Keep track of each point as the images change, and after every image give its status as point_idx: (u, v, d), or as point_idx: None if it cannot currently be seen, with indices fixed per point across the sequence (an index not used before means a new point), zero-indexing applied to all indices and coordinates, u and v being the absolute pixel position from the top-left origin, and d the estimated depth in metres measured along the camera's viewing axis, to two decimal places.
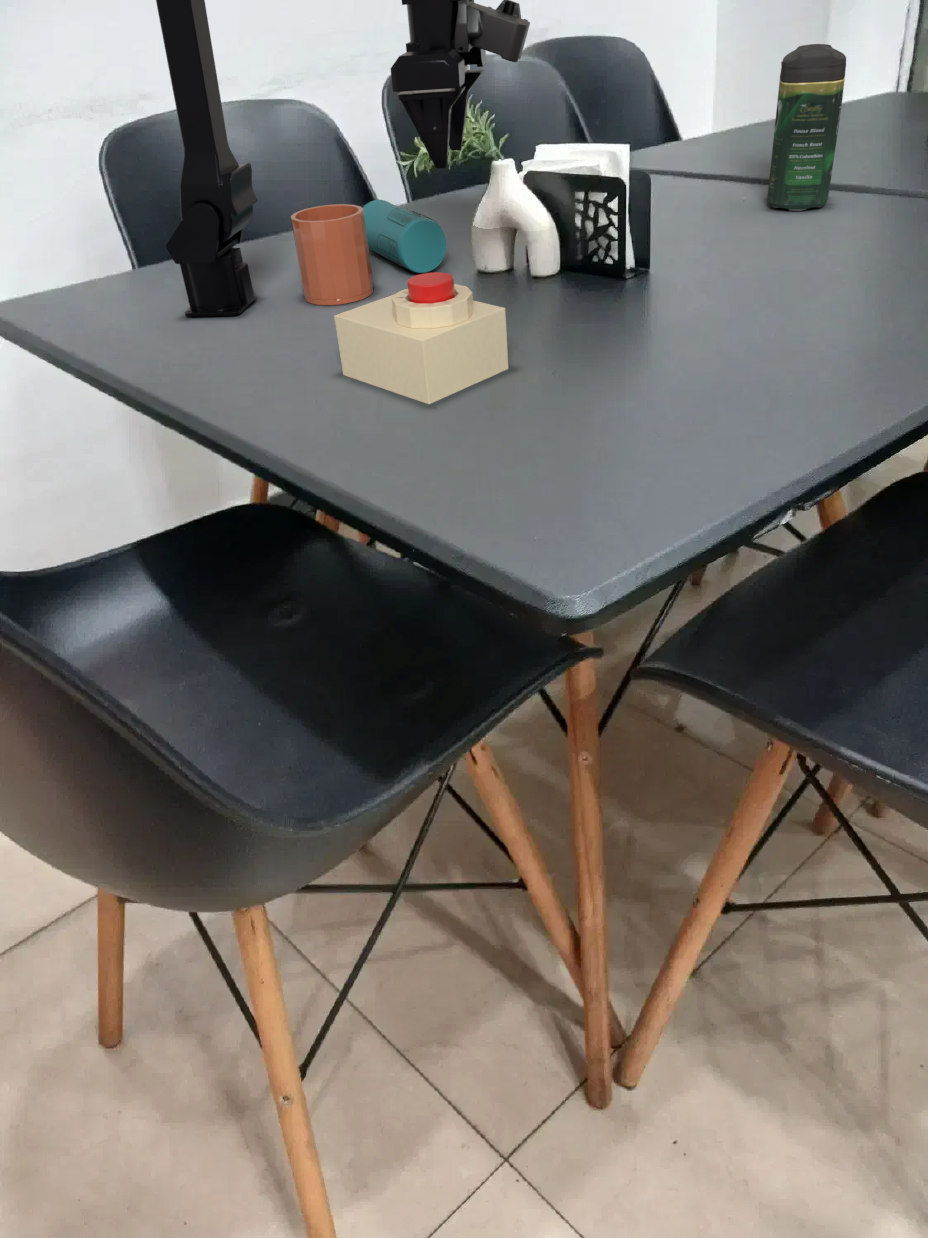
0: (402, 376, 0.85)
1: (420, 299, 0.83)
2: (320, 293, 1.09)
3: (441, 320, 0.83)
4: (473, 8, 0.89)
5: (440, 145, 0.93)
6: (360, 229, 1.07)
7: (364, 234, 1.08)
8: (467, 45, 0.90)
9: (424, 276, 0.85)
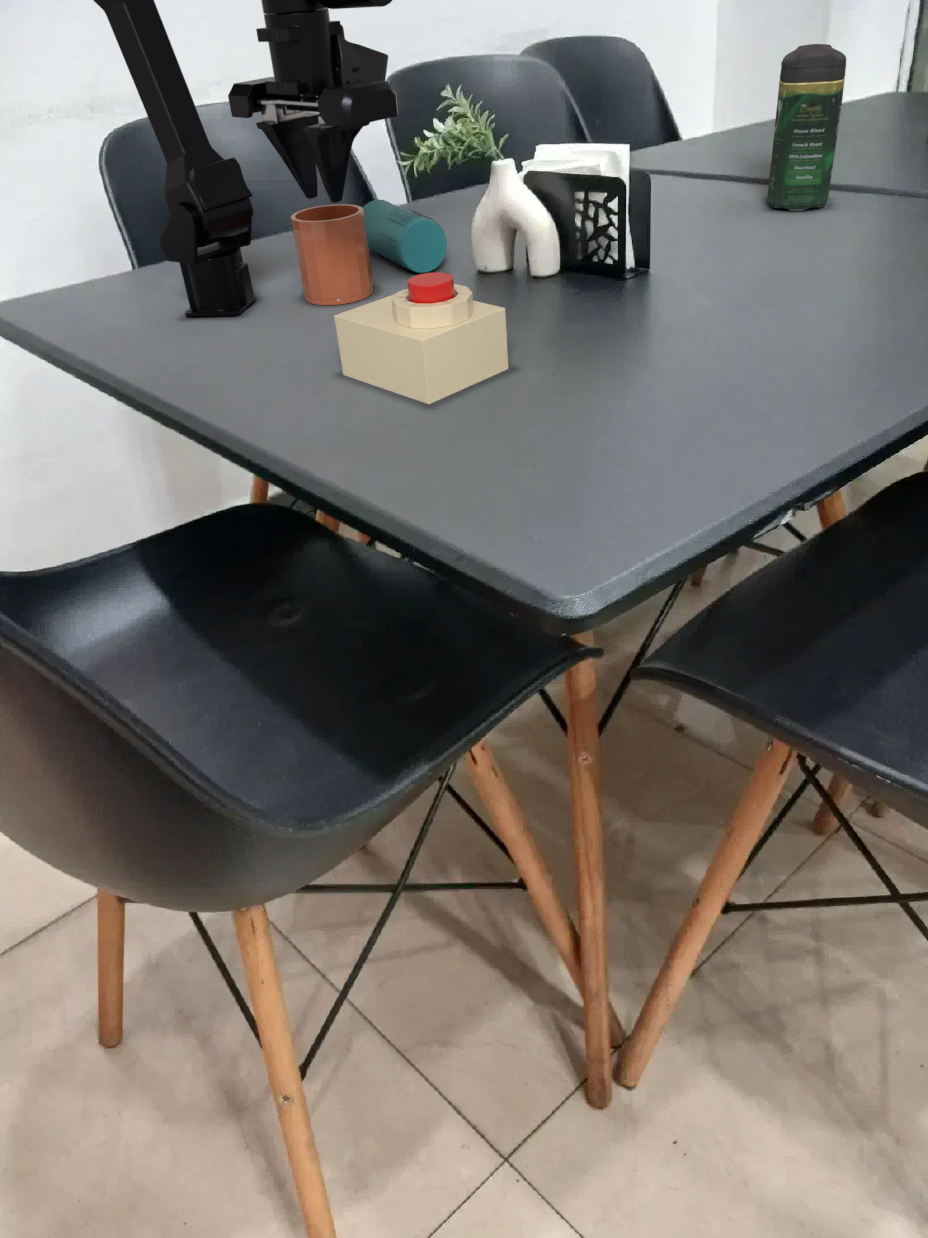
0: (402, 376, 0.85)
1: (420, 299, 0.83)
2: (320, 293, 1.09)
3: (441, 320, 0.83)
4: (347, 42, 0.88)
5: (340, 178, 0.92)
6: (360, 229, 1.07)
7: (364, 234, 1.08)
8: (352, 78, 0.89)
9: (424, 276, 0.85)
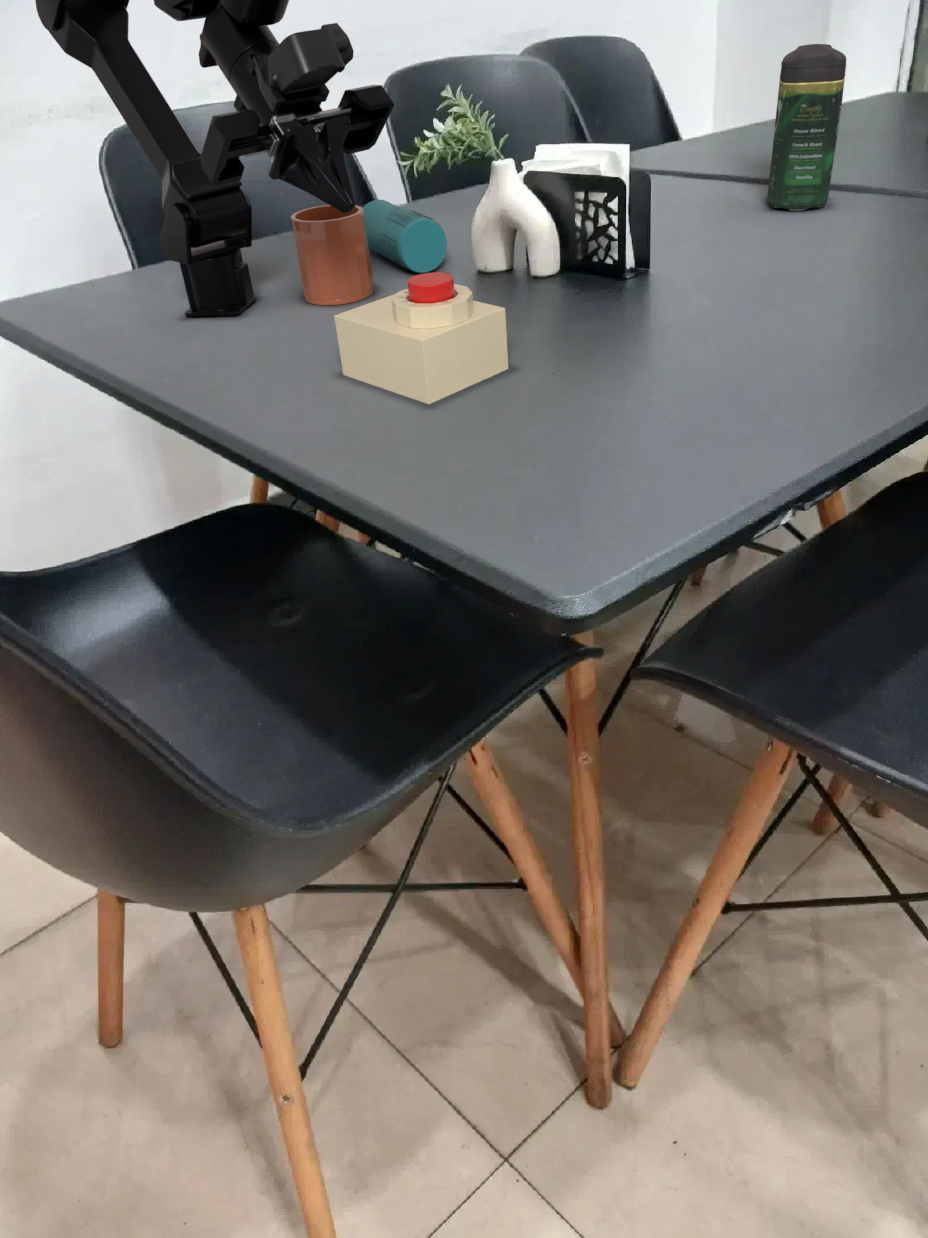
0: (402, 376, 0.85)
1: (420, 299, 0.83)
2: (320, 293, 1.09)
3: (441, 320, 0.83)
4: (266, 62, 0.84)
5: (329, 190, 0.87)
6: (360, 229, 1.07)
7: (364, 234, 1.08)
8: (273, 97, 0.84)
9: (424, 276, 0.85)
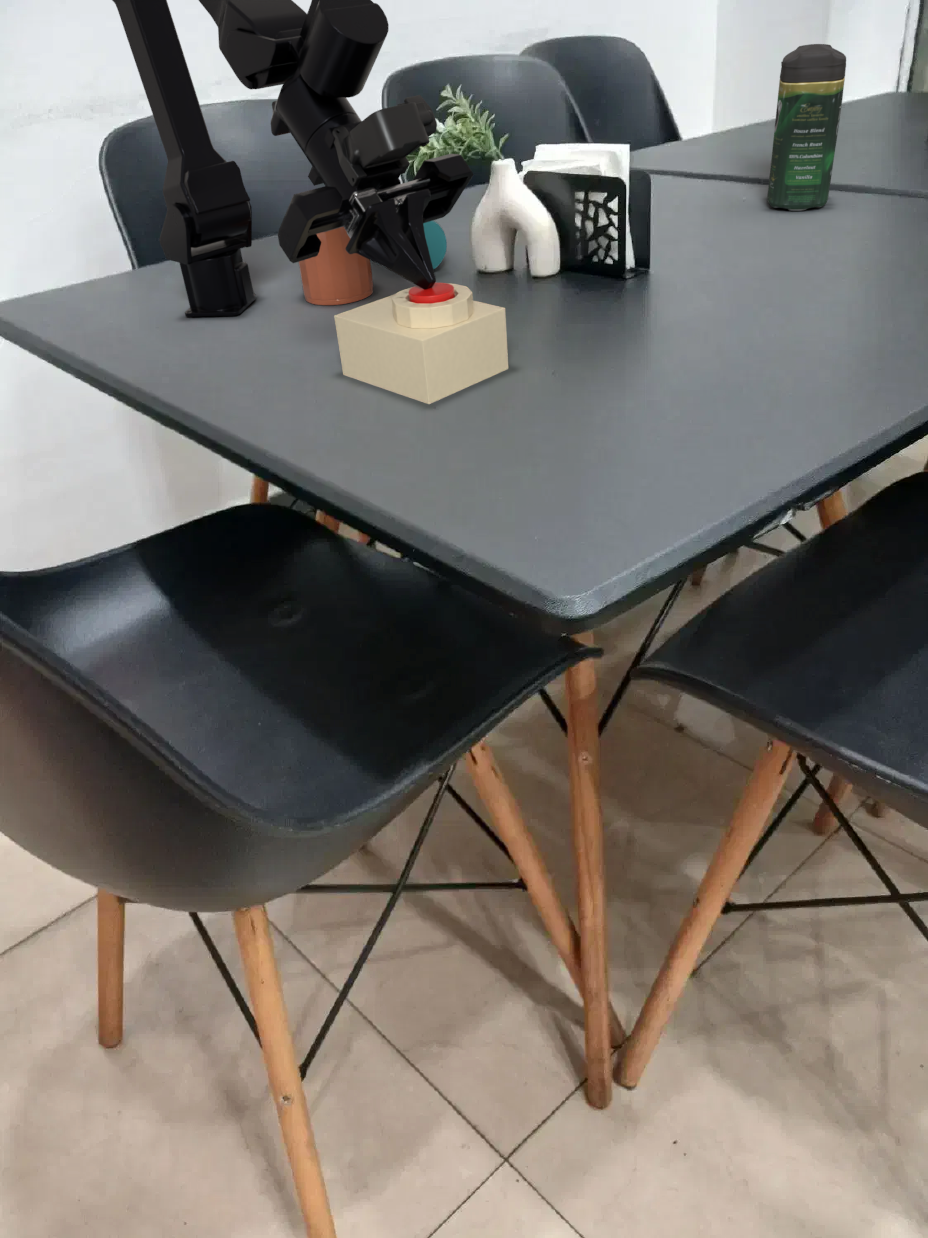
0: (402, 376, 0.85)
1: None
2: (320, 293, 1.09)
3: (441, 320, 0.83)
4: (347, 137, 0.81)
5: (409, 266, 0.84)
6: None
7: None
8: (354, 172, 0.81)
9: None
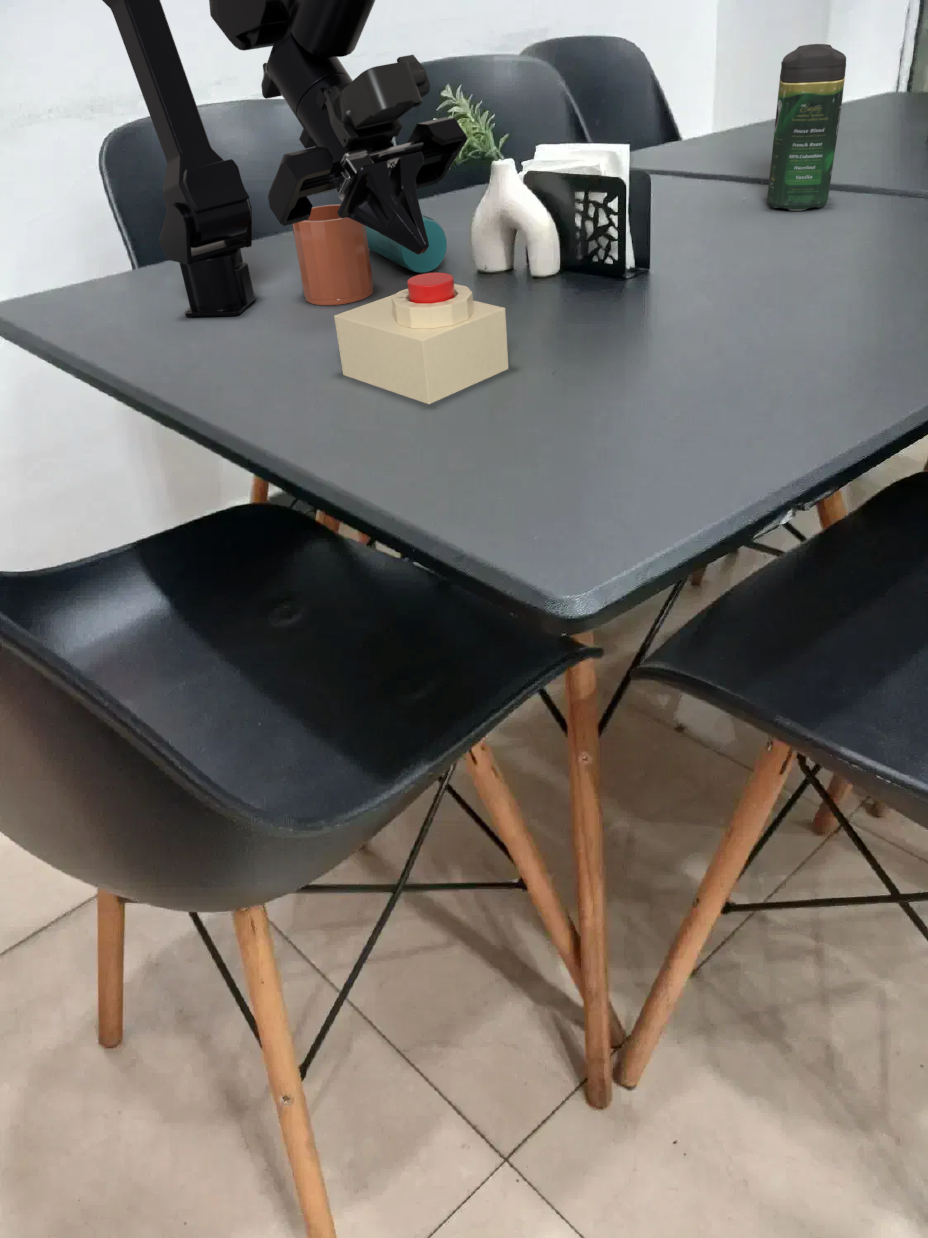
0: (402, 376, 0.85)
1: (420, 299, 0.83)
2: (320, 293, 1.09)
3: (441, 320, 0.83)
4: (338, 97, 0.79)
5: (402, 230, 0.82)
6: (360, 229, 1.07)
7: (364, 234, 1.08)
8: (346, 133, 0.79)
9: (424, 276, 0.85)
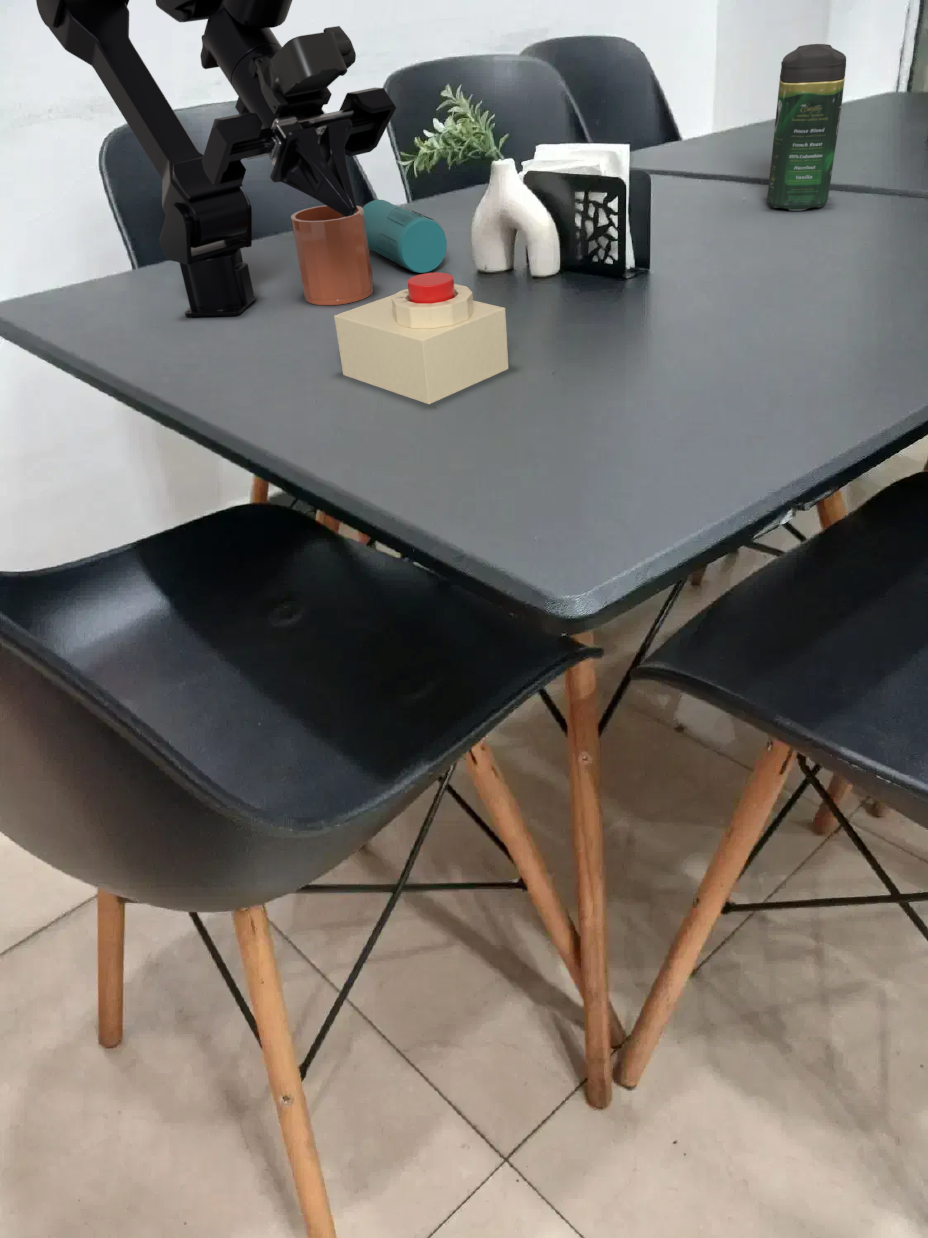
0: (402, 376, 0.85)
1: (420, 299, 0.83)
2: (320, 293, 1.09)
3: (441, 320, 0.83)
4: (268, 65, 0.84)
5: (331, 193, 0.87)
6: (360, 229, 1.07)
7: (364, 234, 1.08)
8: (275, 100, 0.84)
9: (424, 276, 0.85)
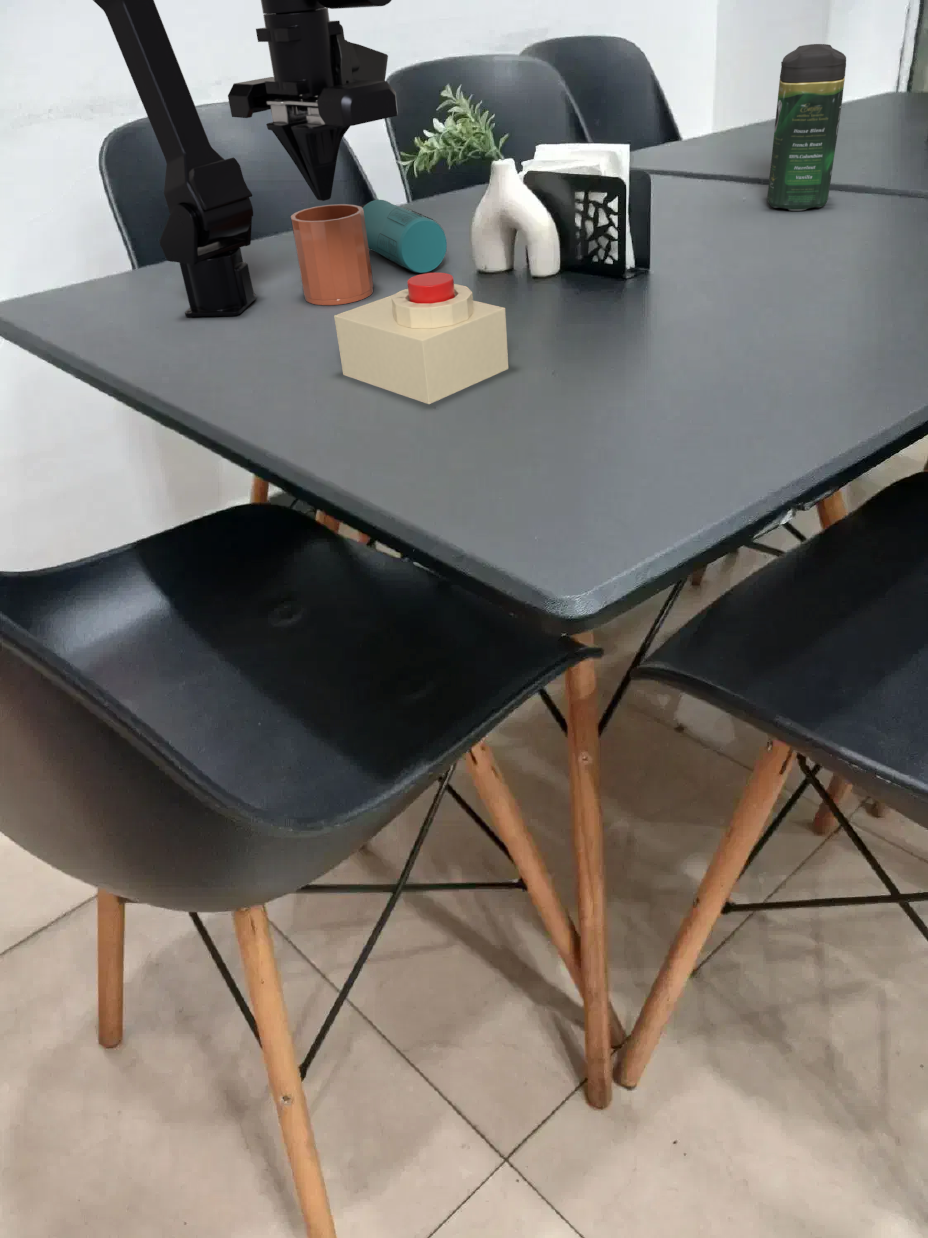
0: (402, 376, 0.85)
1: (420, 299, 0.83)
2: (320, 293, 1.09)
3: (441, 320, 0.83)
4: (347, 42, 0.88)
5: (329, 176, 0.93)
6: (360, 229, 1.07)
7: (364, 234, 1.08)
8: (352, 78, 0.89)
9: (424, 276, 0.85)
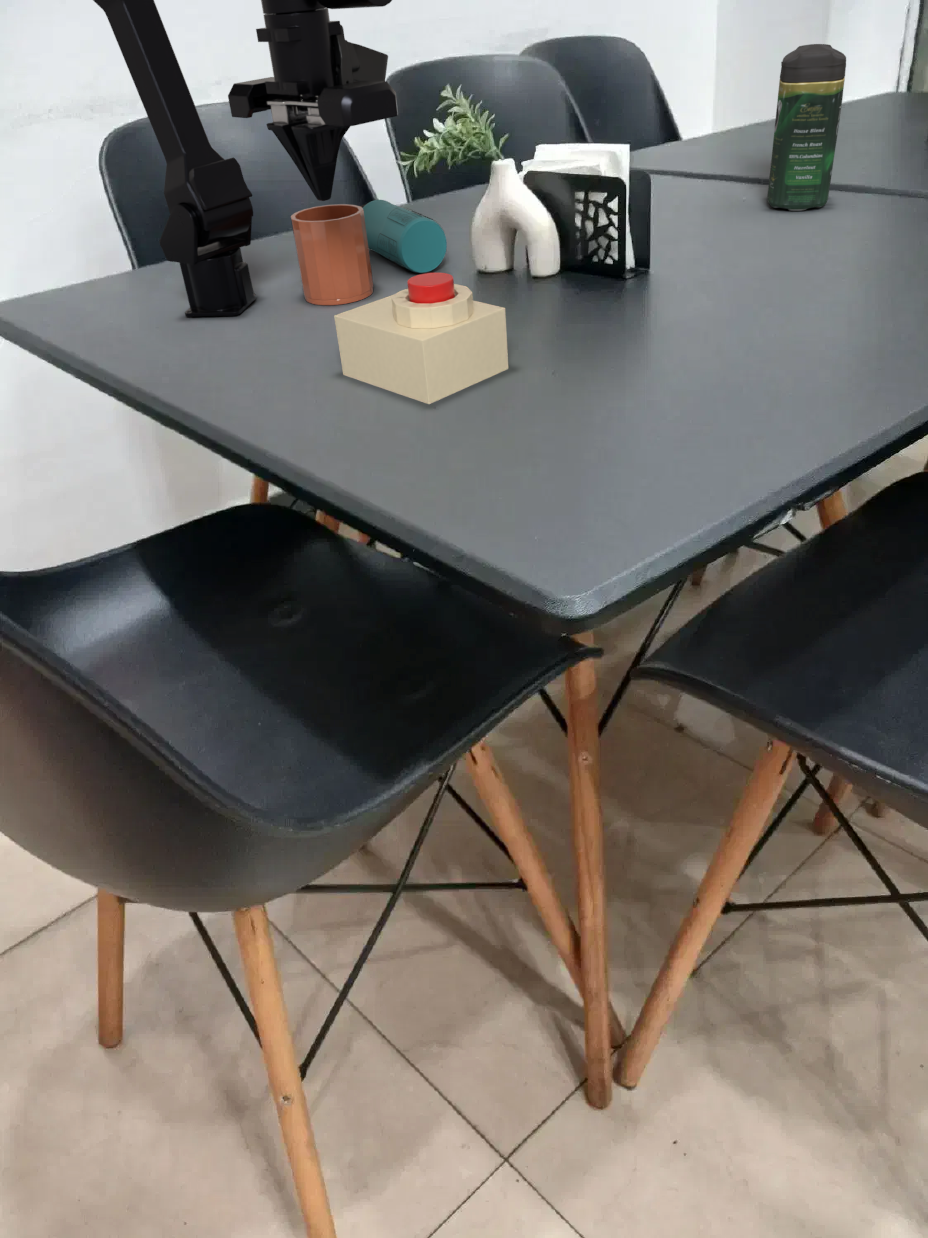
0: (402, 376, 0.85)
1: (420, 299, 0.83)
2: (320, 293, 1.09)
3: (441, 320, 0.83)
4: (347, 42, 0.88)
5: (329, 176, 0.93)
6: (360, 229, 1.07)
7: (364, 234, 1.08)
8: (352, 78, 0.89)
9: (424, 276, 0.85)
